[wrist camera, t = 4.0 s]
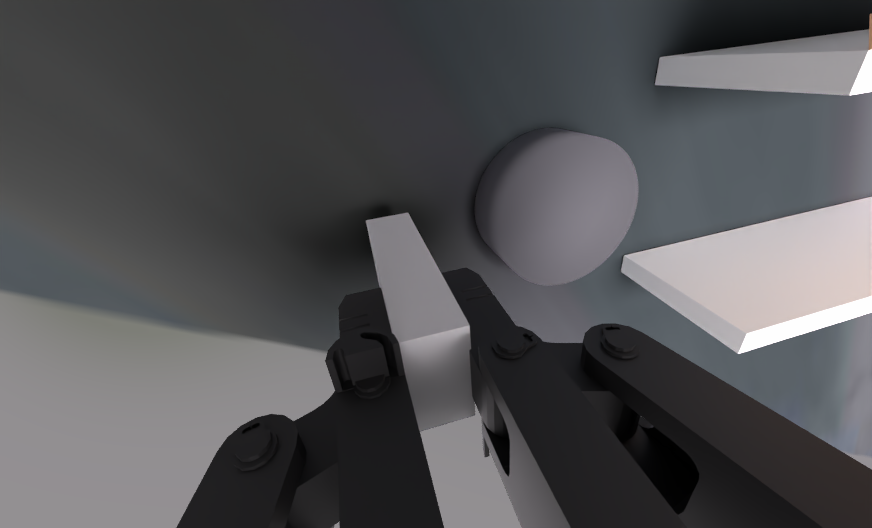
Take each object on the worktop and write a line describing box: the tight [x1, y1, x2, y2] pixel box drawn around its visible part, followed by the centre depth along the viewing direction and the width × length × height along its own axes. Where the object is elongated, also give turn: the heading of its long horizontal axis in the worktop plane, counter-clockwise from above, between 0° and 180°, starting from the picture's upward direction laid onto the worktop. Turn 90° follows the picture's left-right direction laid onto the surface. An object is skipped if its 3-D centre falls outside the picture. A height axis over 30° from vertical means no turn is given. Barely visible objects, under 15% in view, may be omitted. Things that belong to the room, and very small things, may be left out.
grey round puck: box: [475, 128, 638, 286], centre depth 15 cm, size 6×6×2 cm
